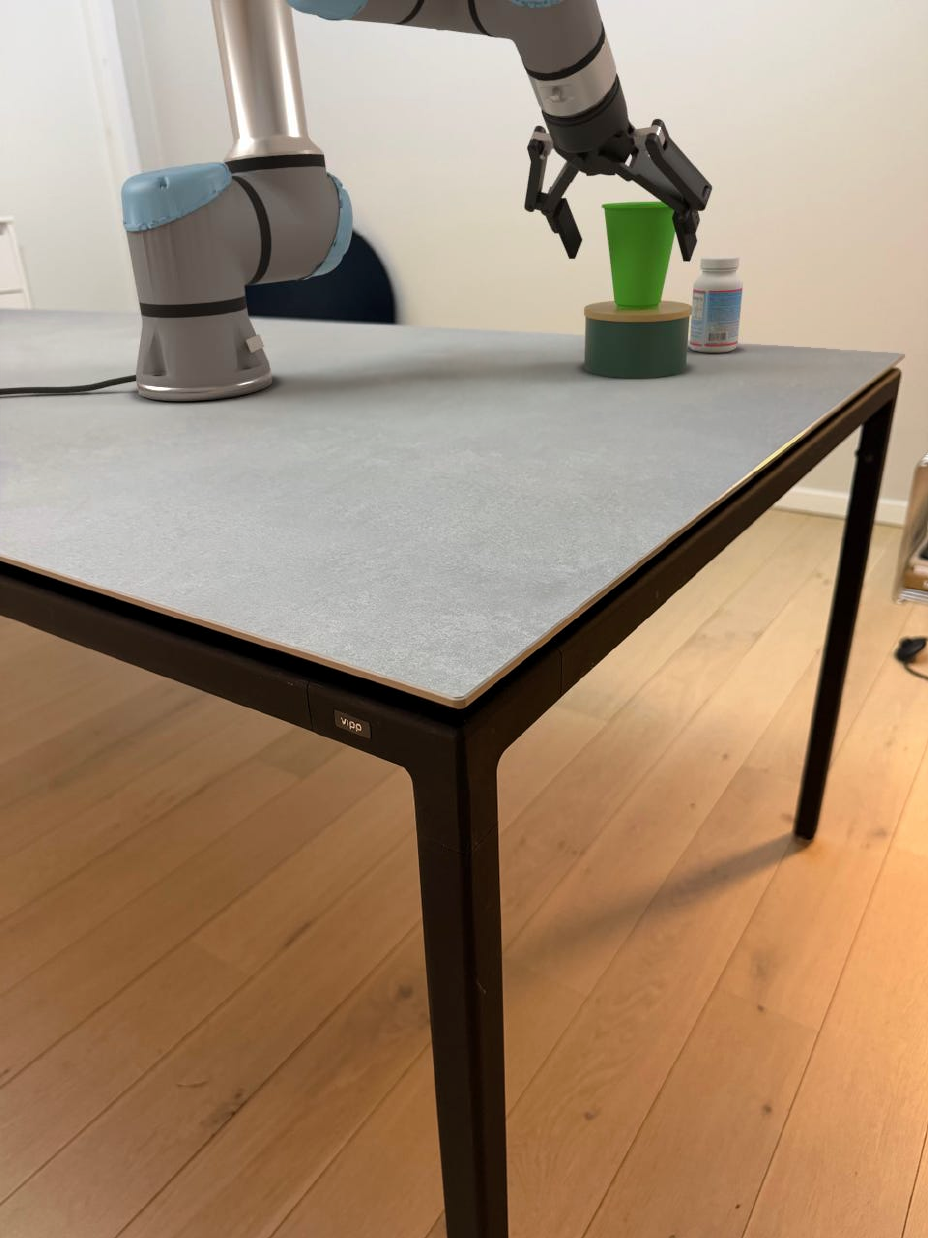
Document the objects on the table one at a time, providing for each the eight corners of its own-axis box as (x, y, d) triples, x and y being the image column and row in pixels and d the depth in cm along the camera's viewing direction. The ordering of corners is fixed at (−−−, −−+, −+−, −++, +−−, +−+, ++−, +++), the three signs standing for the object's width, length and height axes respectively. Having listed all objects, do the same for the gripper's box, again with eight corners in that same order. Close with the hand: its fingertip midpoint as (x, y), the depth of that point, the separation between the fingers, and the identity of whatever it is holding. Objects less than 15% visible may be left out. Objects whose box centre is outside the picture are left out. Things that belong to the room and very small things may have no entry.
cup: (594, 312, 104) (597, 206, 99) (602, 301, 112) (605, 202, 107) (675, 312, 102) (682, 204, 97) (678, 301, 110) (685, 200, 105)
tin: (605, 382, 103) (608, 317, 100) (567, 362, 114) (568, 303, 111) (706, 373, 106) (711, 310, 103) (659, 354, 117) (663, 297, 114)
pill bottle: (743, 347, 120) (752, 254, 115) (727, 355, 115) (736, 259, 110) (699, 343, 123) (706, 253, 118) (681, 351, 119) (688, 258, 114)
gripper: (449, 128, 90) (521, 274, 108) (698, 114, 78) (732, 281, 96) (475, 68, 92) (542, 222, 110) (723, 46, 80) (752, 222, 98)
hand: (631, 250), depth 103 cm, fingers open, 13 cm apart
